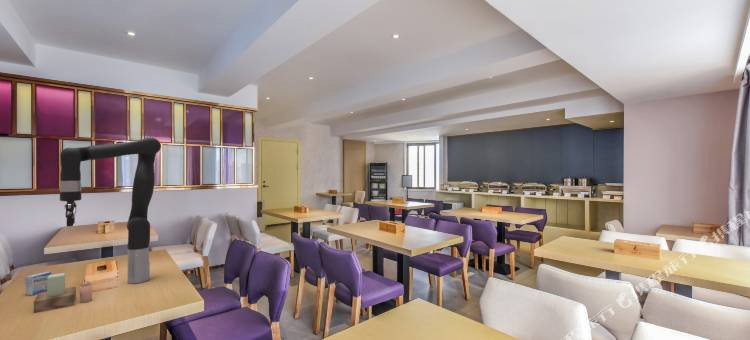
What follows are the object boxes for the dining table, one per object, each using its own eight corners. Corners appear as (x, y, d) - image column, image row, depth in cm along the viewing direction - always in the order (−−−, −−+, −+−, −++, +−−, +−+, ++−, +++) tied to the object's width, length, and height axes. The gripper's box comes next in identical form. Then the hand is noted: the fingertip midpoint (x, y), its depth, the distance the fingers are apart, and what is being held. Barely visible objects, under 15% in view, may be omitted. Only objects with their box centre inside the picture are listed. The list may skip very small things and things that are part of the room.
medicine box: (32, 295, 153) (32, 277, 153) (24, 295, 154) (24, 276, 154) (51, 289, 161) (51, 271, 161) (44, 289, 162) (44, 271, 162)
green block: (65, 290, 146) (65, 272, 146) (63, 294, 142) (63, 275, 142) (49, 293, 143) (49, 274, 143) (47, 296, 139) (47, 277, 139)
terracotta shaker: (92, 298, 150) (92, 279, 150) (91, 301, 146) (91, 281, 146) (80, 300, 147) (80, 280, 147) (79, 303, 144) (79, 283, 144)
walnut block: (75, 297, 151) (75, 286, 151) (73, 306, 142) (73, 294, 142) (38, 304, 144) (38, 292, 144) (33, 313, 135) (33, 301, 135)
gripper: (80, 190, 152) (80, 226, 152) (82, 189, 163) (82, 222, 163) (57, 191, 147) (57, 228, 147) (61, 190, 159) (61, 224, 159)
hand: (70, 225), depth 155 cm, fingers open, 8 cm apart
